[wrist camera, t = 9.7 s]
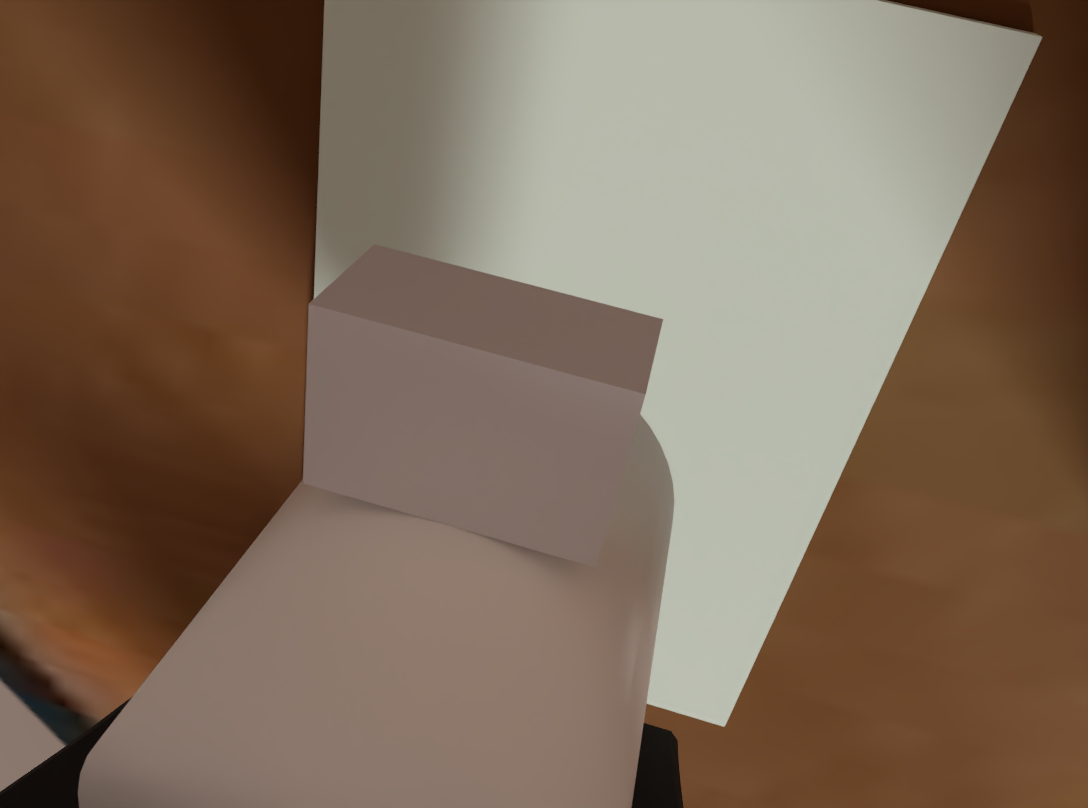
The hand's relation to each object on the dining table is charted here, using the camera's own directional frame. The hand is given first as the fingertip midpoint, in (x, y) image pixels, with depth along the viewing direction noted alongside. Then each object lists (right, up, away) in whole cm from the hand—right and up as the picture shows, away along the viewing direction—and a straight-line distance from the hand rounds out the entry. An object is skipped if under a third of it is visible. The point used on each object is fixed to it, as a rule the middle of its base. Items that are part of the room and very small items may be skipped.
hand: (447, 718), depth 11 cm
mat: (+2, +4, +7) cm, 8 cm away
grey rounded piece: (0, +1, +1) cm, 1 cm away
